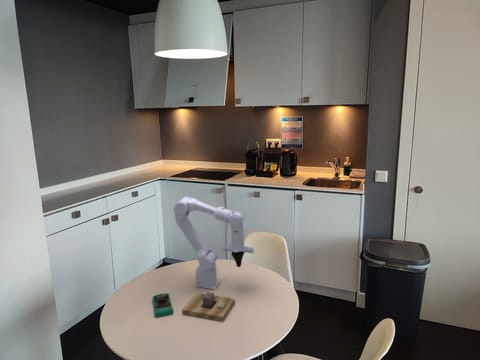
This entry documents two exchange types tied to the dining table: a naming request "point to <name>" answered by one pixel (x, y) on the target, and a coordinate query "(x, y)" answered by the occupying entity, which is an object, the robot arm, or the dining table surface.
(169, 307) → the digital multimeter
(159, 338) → the dining table surface
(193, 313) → the socket board
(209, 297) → the grey block
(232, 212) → the robot arm
